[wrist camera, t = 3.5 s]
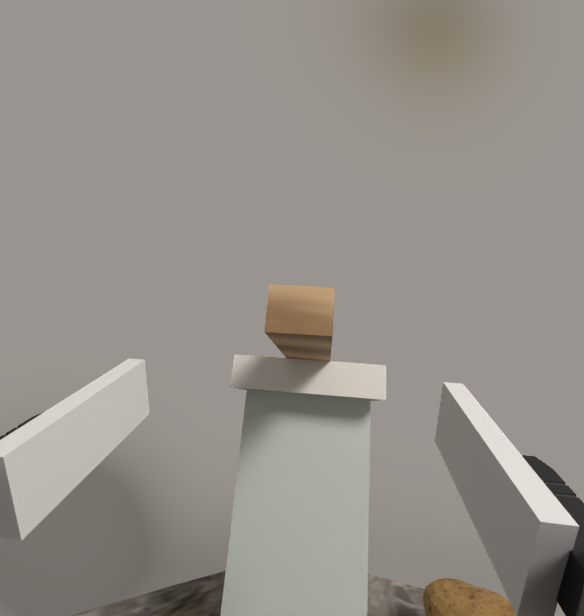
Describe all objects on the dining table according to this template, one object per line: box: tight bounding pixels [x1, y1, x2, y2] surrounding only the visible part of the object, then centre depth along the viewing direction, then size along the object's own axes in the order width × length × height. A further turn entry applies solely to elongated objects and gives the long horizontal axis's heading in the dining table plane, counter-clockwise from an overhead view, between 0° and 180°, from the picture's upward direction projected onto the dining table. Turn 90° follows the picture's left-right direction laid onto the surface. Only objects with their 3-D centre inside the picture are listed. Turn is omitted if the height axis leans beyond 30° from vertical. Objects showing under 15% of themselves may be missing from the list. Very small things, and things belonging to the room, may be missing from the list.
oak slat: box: [265, 285, 335, 361], centre depth 34 cm, size 30×4×3 cm, turn 174°
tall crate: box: [220, 355, 386, 616], centre depth 36 cm, size 20×14×30 cm
